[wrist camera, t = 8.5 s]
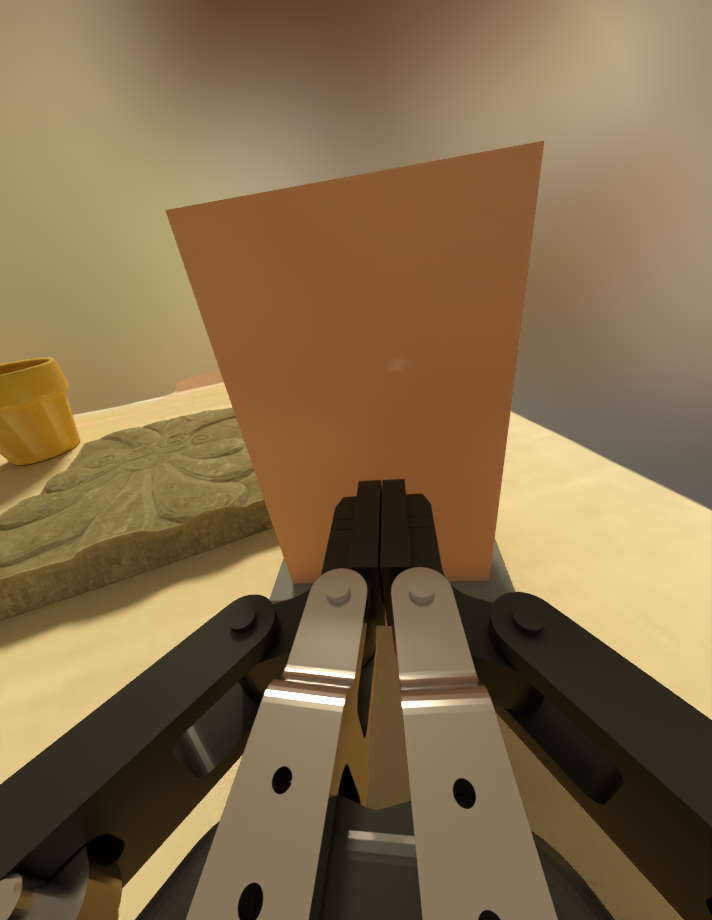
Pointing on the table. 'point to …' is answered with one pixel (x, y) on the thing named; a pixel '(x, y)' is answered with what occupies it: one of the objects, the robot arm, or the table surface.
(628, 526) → the table surface
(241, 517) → the decorative tile
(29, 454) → the plant pot
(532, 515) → the table surface
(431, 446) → the terracotta tile
